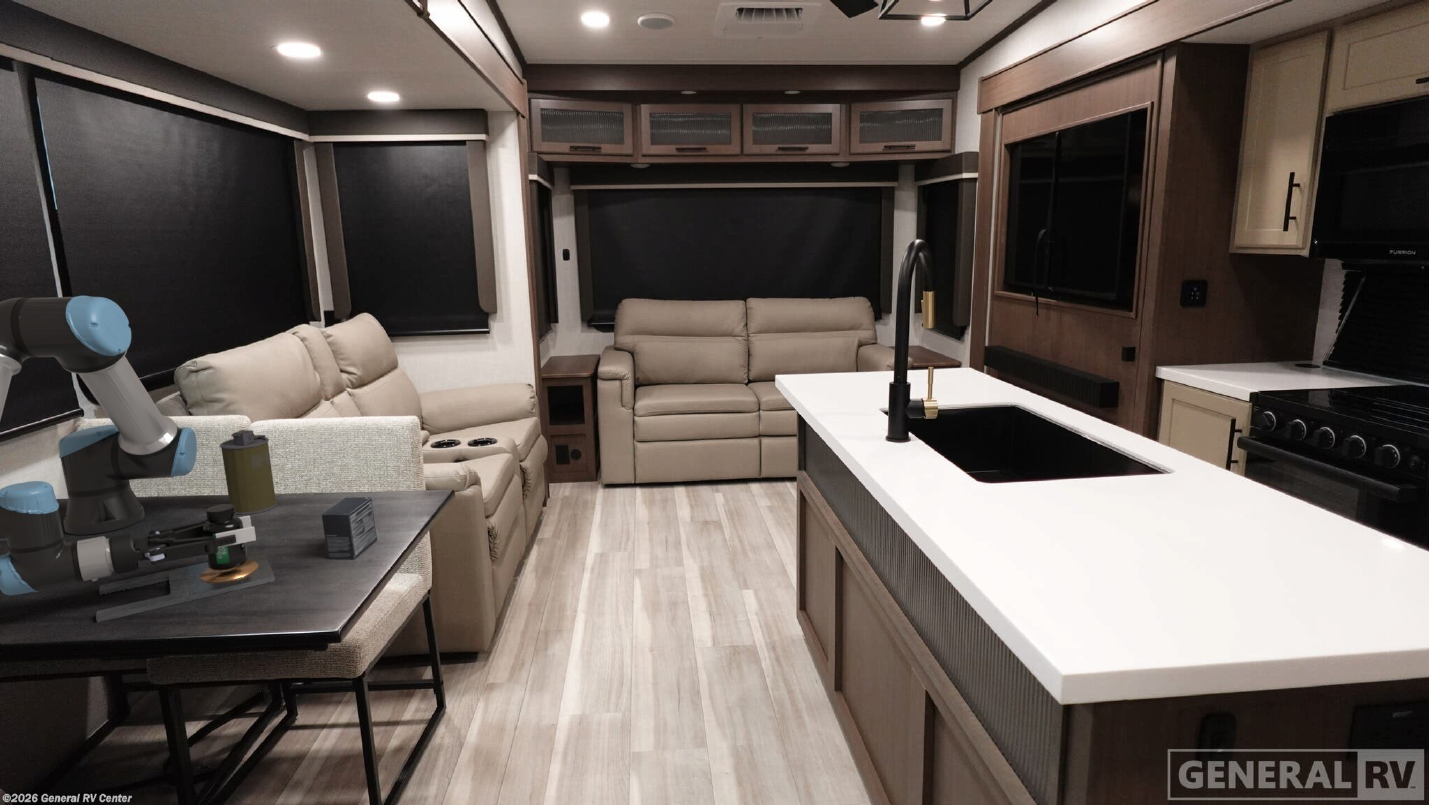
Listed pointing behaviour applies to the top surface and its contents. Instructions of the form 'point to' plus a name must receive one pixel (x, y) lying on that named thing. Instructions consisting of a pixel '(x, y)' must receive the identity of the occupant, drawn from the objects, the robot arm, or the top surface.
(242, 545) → the supplement bottle
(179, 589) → the rail plate
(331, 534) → the small box
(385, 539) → the top surface
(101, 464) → the robot arm
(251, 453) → the canister
